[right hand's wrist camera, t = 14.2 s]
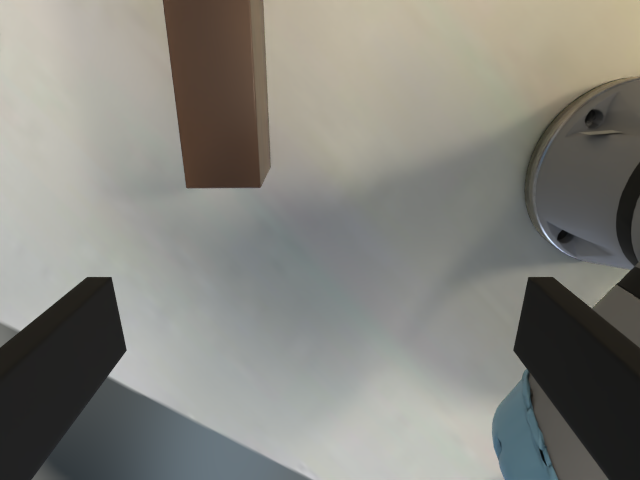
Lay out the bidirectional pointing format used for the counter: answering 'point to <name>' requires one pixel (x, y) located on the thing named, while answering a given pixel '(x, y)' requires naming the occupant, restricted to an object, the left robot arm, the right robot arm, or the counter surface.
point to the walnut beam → (220, 90)
